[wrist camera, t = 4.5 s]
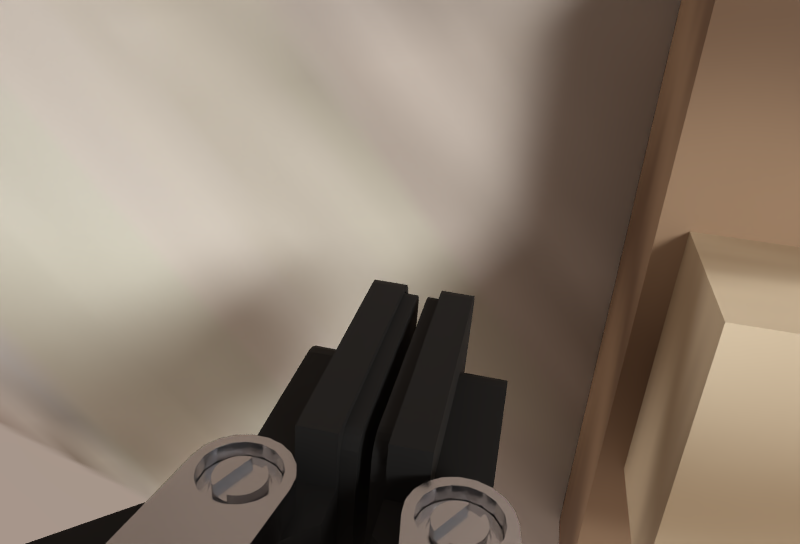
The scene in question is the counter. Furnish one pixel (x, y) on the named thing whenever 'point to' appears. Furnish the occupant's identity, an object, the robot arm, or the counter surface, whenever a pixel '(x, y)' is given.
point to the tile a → (722, 402)
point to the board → (690, 217)
